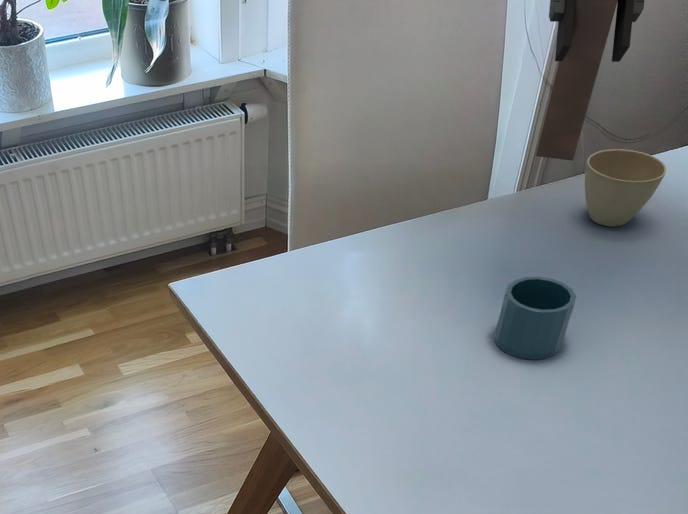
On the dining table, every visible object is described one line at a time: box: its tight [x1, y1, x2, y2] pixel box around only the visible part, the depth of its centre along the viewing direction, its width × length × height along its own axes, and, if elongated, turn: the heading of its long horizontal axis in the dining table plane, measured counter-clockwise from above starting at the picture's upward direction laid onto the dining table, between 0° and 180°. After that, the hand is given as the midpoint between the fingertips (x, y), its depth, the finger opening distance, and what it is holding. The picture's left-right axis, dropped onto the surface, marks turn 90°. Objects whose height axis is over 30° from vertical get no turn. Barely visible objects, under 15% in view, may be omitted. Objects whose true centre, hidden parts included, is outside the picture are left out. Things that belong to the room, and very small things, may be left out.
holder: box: [494, 276, 577, 360], centre depth 102 cm, size 8×8×6 cm
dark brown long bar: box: [535, 0, 618, 161], centre depth 90 cm, size 4×4×20 cm
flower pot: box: [584, 148, 667, 228], centre depth 119 cm, size 10×10×7 cm
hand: (591, 53), depth 87 cm, fingers closed on dark brown long bar, 5 cm apart
